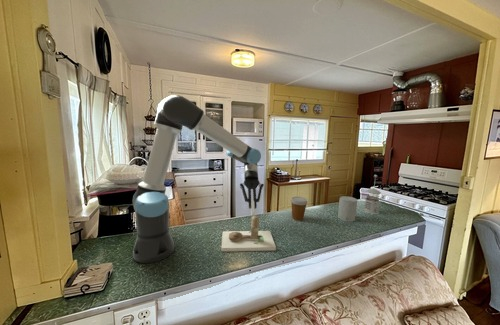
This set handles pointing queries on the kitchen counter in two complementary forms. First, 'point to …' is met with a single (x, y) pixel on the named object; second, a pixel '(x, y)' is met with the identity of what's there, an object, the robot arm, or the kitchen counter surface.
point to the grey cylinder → (347, 208)
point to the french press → (372, 201)
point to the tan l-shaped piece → (254, 235)
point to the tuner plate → (248, 242)
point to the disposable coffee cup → (298, 208)
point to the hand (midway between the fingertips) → (253, 214)
